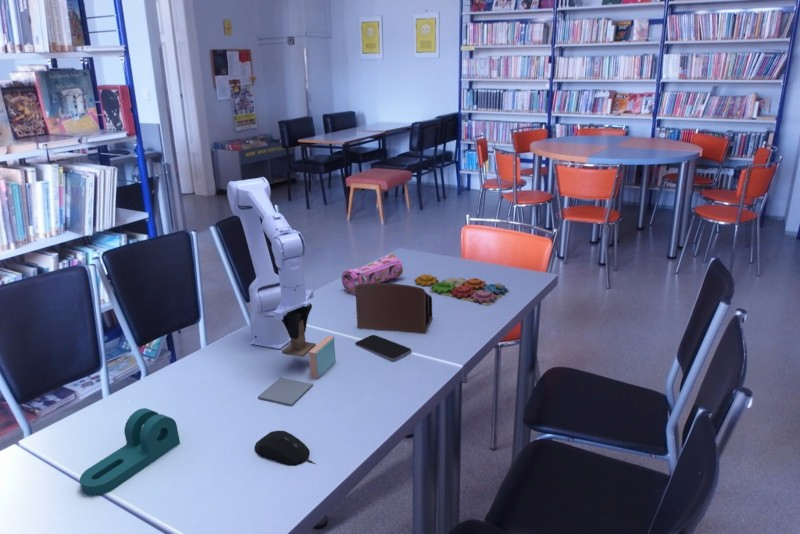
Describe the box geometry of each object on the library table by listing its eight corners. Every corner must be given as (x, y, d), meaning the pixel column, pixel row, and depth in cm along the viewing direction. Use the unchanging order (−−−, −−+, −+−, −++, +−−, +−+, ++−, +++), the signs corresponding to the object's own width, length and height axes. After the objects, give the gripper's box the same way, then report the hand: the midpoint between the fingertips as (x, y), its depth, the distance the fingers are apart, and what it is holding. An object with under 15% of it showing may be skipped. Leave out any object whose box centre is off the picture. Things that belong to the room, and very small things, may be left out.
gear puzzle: (404, 288, 192) (404, 277, 191) (431, 273, 204) (431, 262, 203) (489, 308, 175) (489, 296, 173) (512, 291, 187) (513, 279, 185)
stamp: (282, 353, 142) (278, 324, 139) (295, 342, 147) (292, 314, 144) (303, 357, 140) (300, 328, 137) (315, 346, 145) (313, 317, 142)
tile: (311, 378, 139) (308, 351, 136) (329, 360, 147) (327, 335, 144) (318, 379, 138) (315, 353, 136) (336, 361, 146) (334, 336, 143)
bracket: (157, 435, 120) (151, 402, 117) (180, 444, 116) (173, 410, 114) (74, 489, 105) (64, 452, 102) (97, 501, 102) (87, 464, 99)
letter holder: (426, 334, 159) (425, 286, 154) (356, 329, 163) (353, 282, 159) (432, 319, 168) (432, 273, 163) (367, 314, 172) (364, 270, 168)
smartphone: (373, 334, 159) (413, 349, 149) (373, 337, 159) (413, 353, 149) (353, 343, 154) (393, 359, 144) (353, 347, 155) (393, 363, 144)
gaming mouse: (308, 477, 106) (306, 459, 105) (248, 453, 113) (246, 436, 112) (329, 457, 111) (327, 440, 110) (270, 435, 118) (268, 419, 117)
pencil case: (359, 299, 184) (357, 272, 181) (340, 292, 190) (338, 266, 187) (406, 280, 198) (405, 255, 195) (387, 274, 204) (385, 250, 201)
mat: (257, 398, 131) (257, 396, 131) (280, 379, 139) (280, 377, 138) (291, 406, 127) (291, 404, 127) (313, 385, 135) (312, 383, 135)
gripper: (289, 296, 130) (295, 351, 134) (322, 274, 142) (326, 325, 147) (263, 292, 132) (269, 346, 137) (297, 271, 145) (302, 321, 149)
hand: (297, 335), depth 142 cm, fingers closed on stamp, 2 cm apart
